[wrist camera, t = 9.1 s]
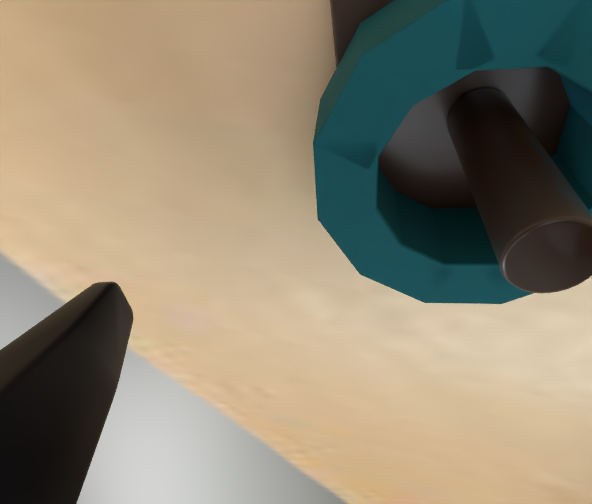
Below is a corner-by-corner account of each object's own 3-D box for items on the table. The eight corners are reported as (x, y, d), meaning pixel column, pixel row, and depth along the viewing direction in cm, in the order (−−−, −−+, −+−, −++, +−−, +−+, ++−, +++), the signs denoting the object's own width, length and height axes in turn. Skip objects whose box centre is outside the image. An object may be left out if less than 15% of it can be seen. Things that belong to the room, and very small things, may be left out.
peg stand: (582, 204, 16) (714, 389, 10) (352, 219, 17) (350, 390, 11) (661, -75, 11) (1004, -30, 5) (330, -23, 12) (307, 59, 7)
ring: (576, 244, 16) (614, 306, 13) (327, 244, 17) (322, 302, 14) (689, -54, 10) (786, -37, 8) (314, -25, 11) (303, -2, 9)
